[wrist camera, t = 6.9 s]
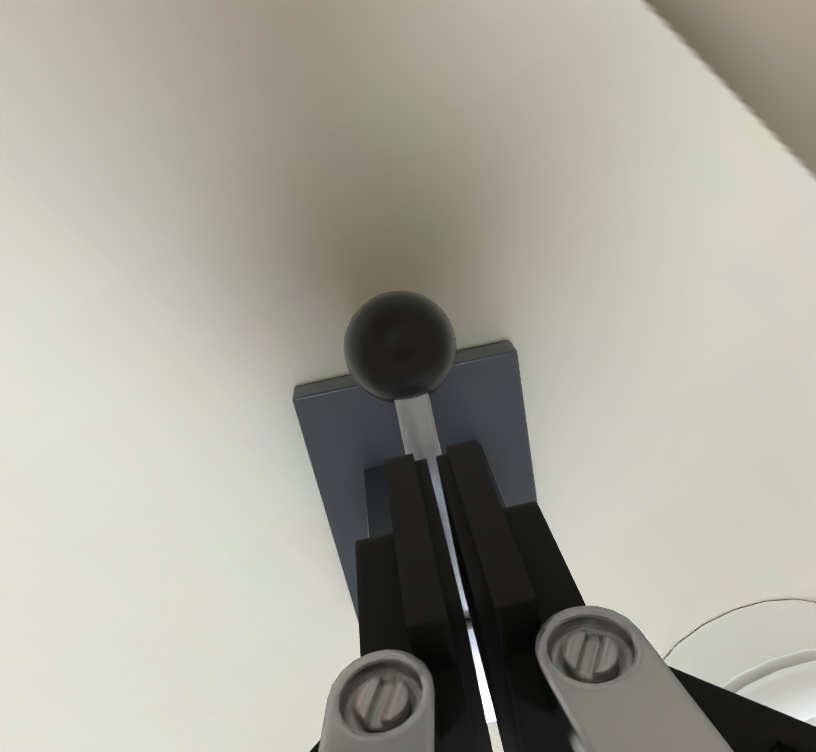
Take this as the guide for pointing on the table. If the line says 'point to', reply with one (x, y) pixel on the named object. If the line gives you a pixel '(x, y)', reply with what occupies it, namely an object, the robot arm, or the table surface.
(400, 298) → the press lever
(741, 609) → the honey pot
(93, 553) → the table surface
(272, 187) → the table surface
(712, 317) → the table surface
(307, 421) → the lever bracket
